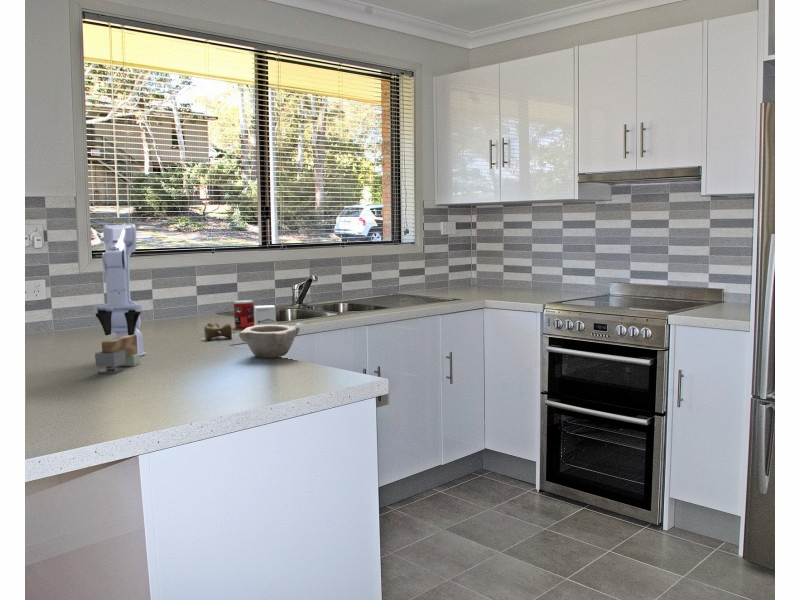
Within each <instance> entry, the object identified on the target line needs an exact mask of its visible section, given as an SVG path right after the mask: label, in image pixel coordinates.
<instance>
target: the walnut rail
mask: <svg viewBox="0 0 800 600" xmlns="http://www.w3.org/2000/svg"><path fill="white" fill-rule="evenodd" d="M120 350H125V358H127V357H130V356H133V355H136V354H138V349H137V335H125V336H122V337H118V338H115V339H114V338H112V339H109V340H104V341H102V342H101V351H102V353H114V352H117V351H120Z"/></svg>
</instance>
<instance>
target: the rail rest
mask: <svg viewBox="0 0 800 600" xmlns="http://www.w3.org/2000/svg"><path fill="white" fill-rule="evenodd" d="M140 364H141V356H140V354H136V355H133V356H130V357H127V358H126V363H124V364H121V365H118V366H121V367H122V366H123V367H124V366H128V367H129V366H131V367H133V366H134V367H135V366H137V365H140Z"/></svg>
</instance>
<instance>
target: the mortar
mask: <svg viewBox="0 0 800 600" xmlns="http://www.w3.org/2000/svg"><path fill="white" fill-rule="evenodd" d="M300 330H301V328H300V327H299V326H297V325H287V324H286V325H285V324H276V325H255V324H254V326H252V327H248V328H245V329H242V331H240V332H239V333H238V337H239V339H240V340H241V341H242V342H244V343H246V344H247V346H248V348H249V350H250V351H251V353H252V354H253V356H255V357H257V358H263V359H273V358H280V357H283V356H285V355H287V354H288V352H289V351H290V350H291V347H292V346H293V343H294V341H295V338H296V337H297V336H298V334H299V332H300Z"/></svg>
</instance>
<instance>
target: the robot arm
mask: <svg viewBox="0 0 800 600" xmlns="http://www.w3.org/2000/svg"><path fill="white" fill-rule="evenodd" d="M102 232H103V233H102V234H103V241H104V245H105V252H102V255H101V262H102V268H103V274H104V276H105V288H106V290H105V291H106V302H107V303H105V304H94V305H93V309H94V312H95V317H96V318H97V320H98V321H99V322H100V325H101V327H102V329H103V332H104V335H105V336H110V335H112V334H113V335H112V337H113V338H112V339H115V338H118V337H122V336H125V335H137V349H138V354H140V357H141V356H144V355H147V352H144V341H143V339H144V338H143V334H142V332H141V331H140V327H141V322H142V321H141V312H142V308H143V307H142V304H140V303H137V302H135V301H133V300H132V299H131V280H130V279H131V276H130V275H131V274H130V259H131V255H132V254H133V253H134V252H135V251H136V248H137V227H136V225H135V224H134V223H132V224H104V225H103V230H102Z"/></svg>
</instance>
